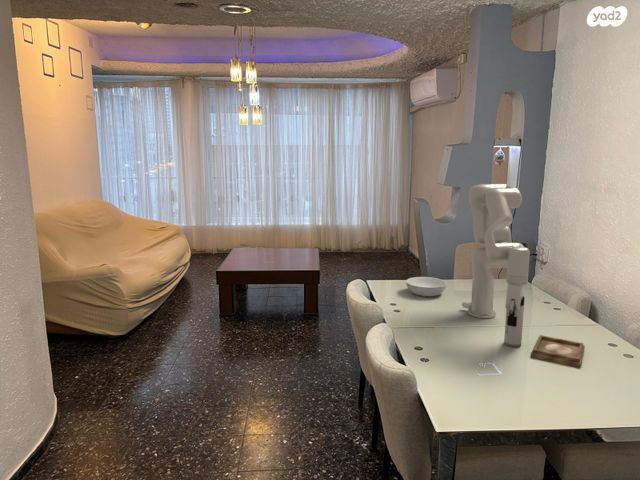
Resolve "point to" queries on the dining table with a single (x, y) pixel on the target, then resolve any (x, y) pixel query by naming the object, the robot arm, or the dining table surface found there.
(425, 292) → the serving bowl
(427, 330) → the dining table surface
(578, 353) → the wooden tray
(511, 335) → the travel mug
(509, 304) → the robot arm
